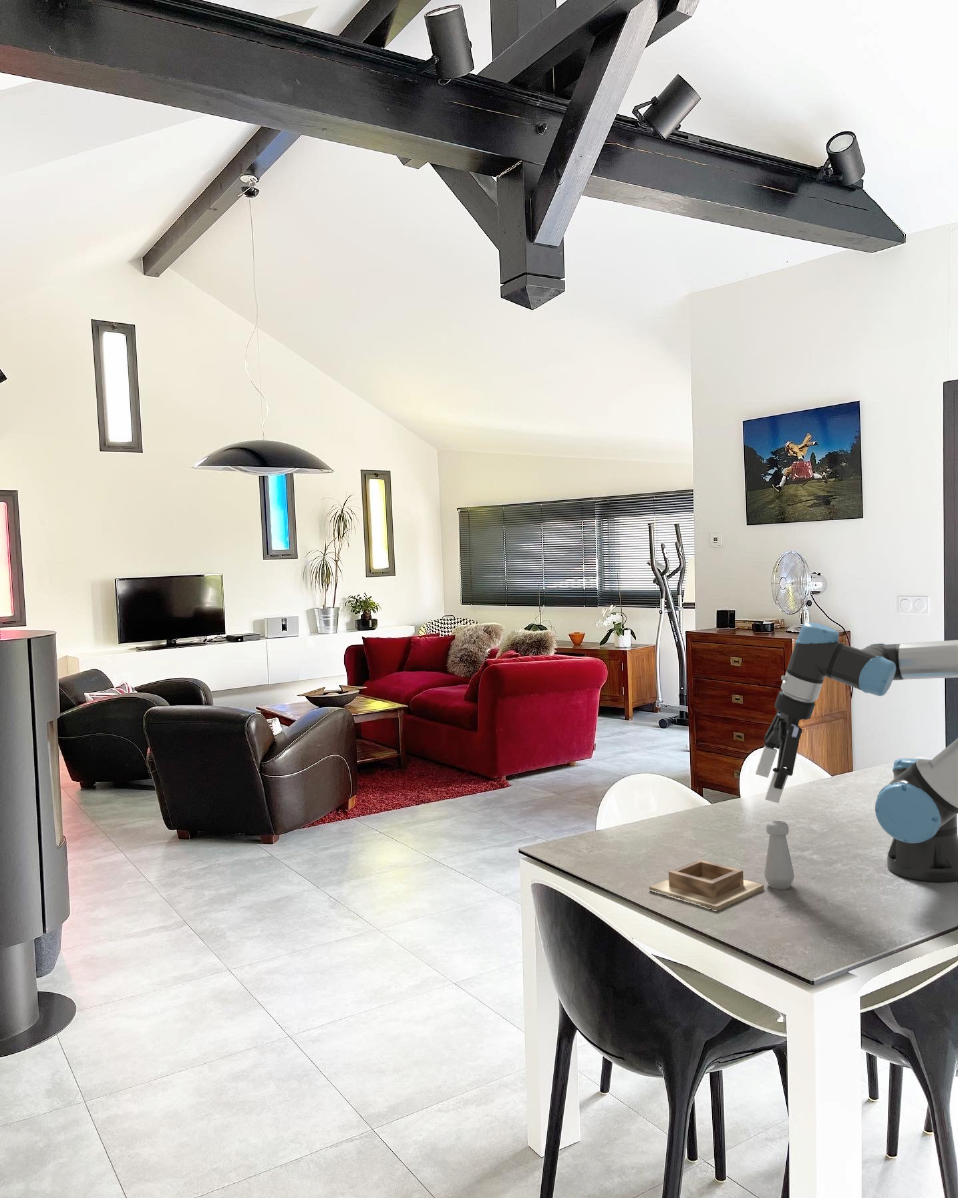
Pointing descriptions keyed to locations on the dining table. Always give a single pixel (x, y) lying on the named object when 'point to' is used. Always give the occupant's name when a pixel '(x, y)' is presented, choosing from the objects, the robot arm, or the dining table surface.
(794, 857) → the dining table surface
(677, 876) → the collar board
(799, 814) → the dining table surface
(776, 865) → the salt shaker
